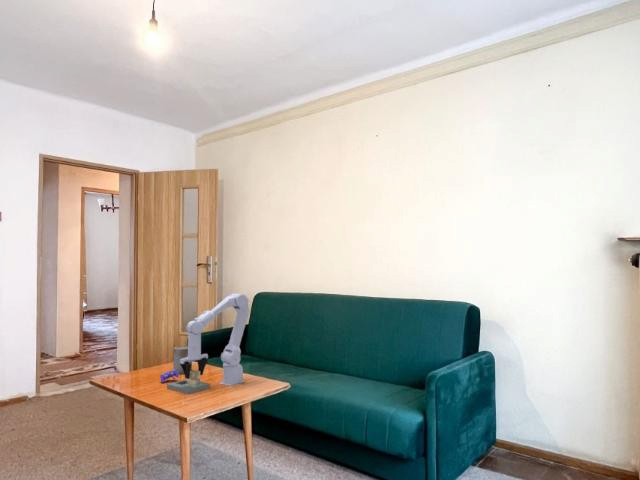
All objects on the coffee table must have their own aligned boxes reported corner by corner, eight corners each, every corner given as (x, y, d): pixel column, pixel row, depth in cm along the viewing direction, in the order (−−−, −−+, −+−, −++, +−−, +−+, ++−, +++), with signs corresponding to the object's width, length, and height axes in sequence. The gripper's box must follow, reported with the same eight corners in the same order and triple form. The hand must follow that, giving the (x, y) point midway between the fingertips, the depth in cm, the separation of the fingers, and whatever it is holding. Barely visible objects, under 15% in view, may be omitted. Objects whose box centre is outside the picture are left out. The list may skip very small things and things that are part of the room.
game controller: (159, 379, 205) (156, 370, 214) (163, 393, 207) (161, 384, 216) (179, 370, 209) (176, 362, 218) (184, 385, 211) (180, 376, 220)
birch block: (194, 383, 200) (194, 370, 201) (200, 384, 198) (200, 371, 199) (187, 385, 197) (187, 371, 198) (193, 386, 195) (193, 373, 195)
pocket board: (188, 383, 209) (188, 378, 209) (209, 389, 200) (209, 383, 200) (166, 389, 199) (167, 383, 200) (188, 395, 190) (188, 389, 190)
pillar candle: (193, 370, 238) (193, 343, 239) (189, 374, 228) (189, 346, 229) (175, 370, 237) (176, 343, 238) (170, 375, 227) (171, 346, 228)
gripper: (201, 343, 207) (201, 372, 206) (175, 348, 195) (175, 378, 194) (211, 345, 203) (210, 374, 202) (185, 350, 191) (185, 380, 190)
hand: (194, 376), depth 198 cm, fingers open, 7 cm apart
